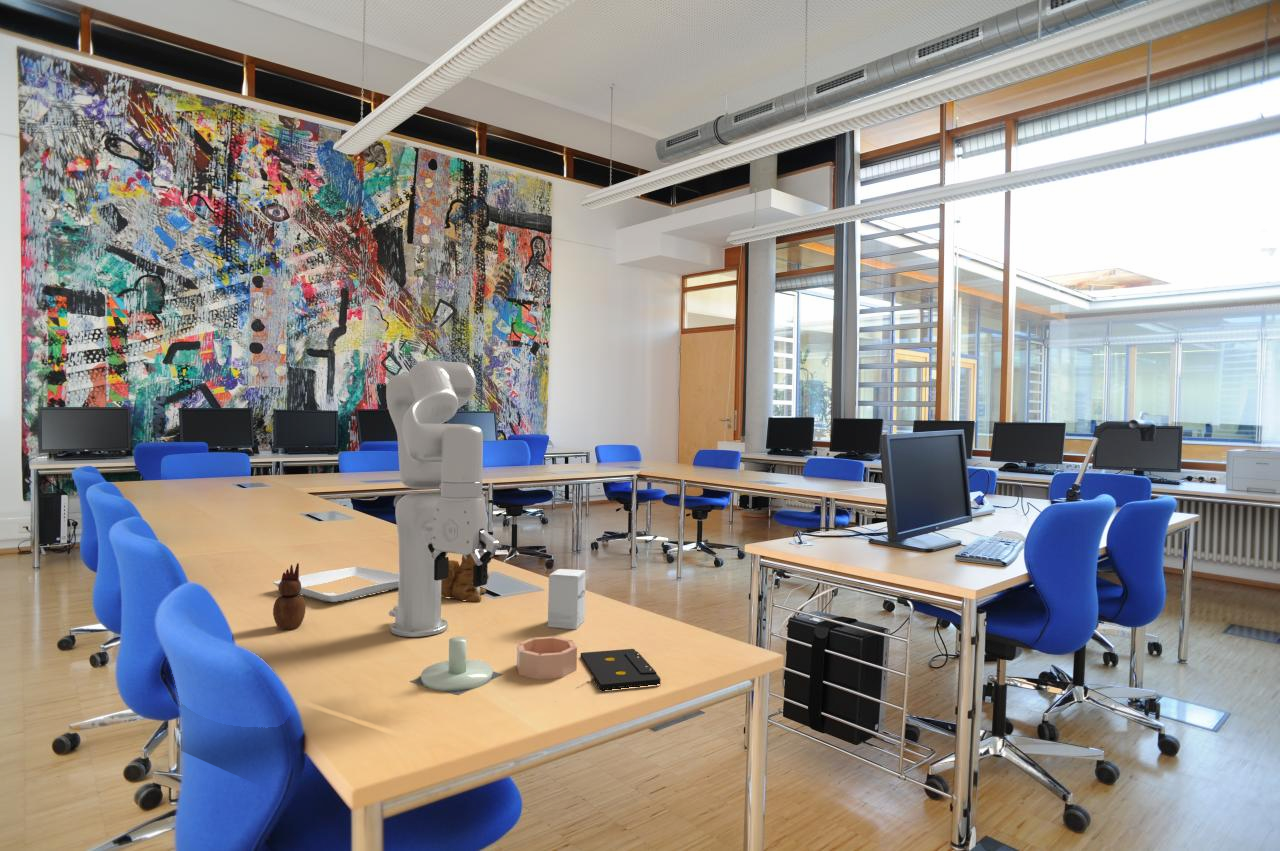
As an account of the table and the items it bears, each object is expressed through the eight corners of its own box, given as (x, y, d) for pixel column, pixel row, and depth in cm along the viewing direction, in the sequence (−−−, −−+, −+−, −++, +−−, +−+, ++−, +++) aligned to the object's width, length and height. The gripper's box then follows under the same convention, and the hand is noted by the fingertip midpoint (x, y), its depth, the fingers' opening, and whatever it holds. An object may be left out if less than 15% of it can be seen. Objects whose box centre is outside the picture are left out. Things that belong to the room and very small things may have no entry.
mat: (409, 684, 131) (409, 681, 131) (456, 665, 141) (456, 662, 141) (458, 698, 125) (458, 694, 125) (503, 677, 135) (503, 674, 135)
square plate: (416, 589, 204) (416, 575, 204) (330, 610, 181) (330, 594, 181) (357, 576, 218) (357, 563, 218) (270, 594, 195) (270, 580, 195)
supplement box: (577, 629, 166) (577, 576, 166) (546, 627, 168) (547, 574, 168) (585, 621, 174) (586, 569, 173) (556, 618, 175) (557, 567, 175)
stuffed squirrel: (482, 602, 189) (483, 553, 189) (430, 601, 190) (431, 552, 190) (492, 593, 199) (493, 546, 199) (442, 591, 200) (443, 545, 200)
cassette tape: (660, 688, 132) (661, 677, 132) (600, 694, 129) (601, 683, 129) (633, 657, 150) (633, 647, 150) (579, 661, 146) (580, 651, 146)
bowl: (505, 674, 137) (506, 648, 137) (541, 657, 146) (541, 633, 146) (552, 685, 131) (552, 659, 131) (585, 668, 141) (586, 643, 141)
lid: (405, 681, 131) (406, 642, 130) (456, 661, 142) (456, 625, 142) (458, 696, 124) (458, 655, 124) (506, 673, 135) (507, 636, 135)
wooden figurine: (310, 626, 165) (311, 562, 165) (288, 633, 160) (289, 566, 160) (290, 622, 168) (290, 559, 168) (268, 628, 163) (269, 563, 163)
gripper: (413, 490, 134) (411, 580, 134) (483, 495, 125) (482, 592, 126) (442, 487, 140) (440, 573, 140) (510, 492, 132) (509, 584, 132)
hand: (460, 582), depth 133 cm, fingers open, 9 cm apart
